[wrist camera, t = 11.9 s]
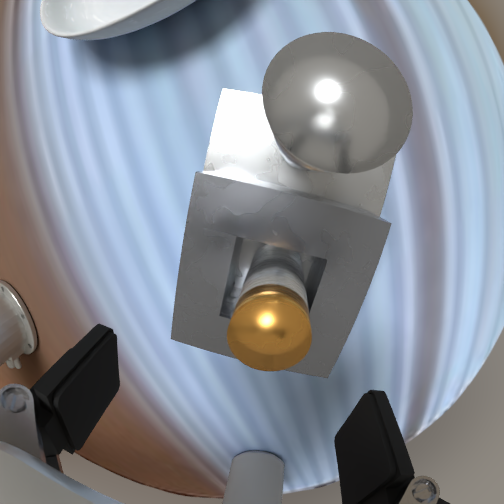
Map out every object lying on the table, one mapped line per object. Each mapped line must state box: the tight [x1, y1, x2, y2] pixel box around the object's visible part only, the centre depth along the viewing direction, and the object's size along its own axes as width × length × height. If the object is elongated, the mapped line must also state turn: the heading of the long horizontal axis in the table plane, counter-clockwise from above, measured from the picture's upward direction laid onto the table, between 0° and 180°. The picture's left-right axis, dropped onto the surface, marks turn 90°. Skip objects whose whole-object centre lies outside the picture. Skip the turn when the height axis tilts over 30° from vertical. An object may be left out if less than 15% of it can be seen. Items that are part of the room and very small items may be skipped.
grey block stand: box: [171, 32, 413, 378], centre depth 15 cm, size 19×14×15 cm
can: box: [222, 451, 284, 504], centre depth 26 cm, size 8×8×12 cm
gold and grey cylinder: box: [227, 244, 312, 371], centre depth 17 cm, size 4×4×10 cm
